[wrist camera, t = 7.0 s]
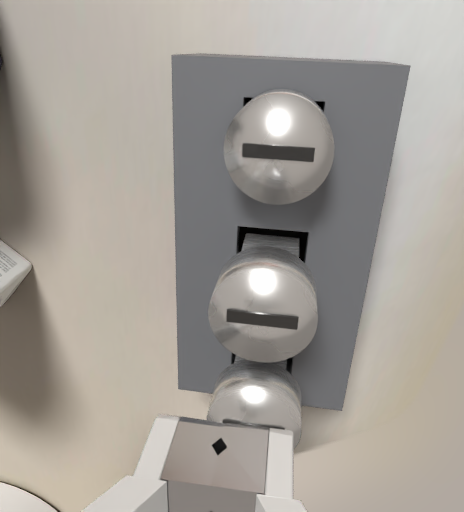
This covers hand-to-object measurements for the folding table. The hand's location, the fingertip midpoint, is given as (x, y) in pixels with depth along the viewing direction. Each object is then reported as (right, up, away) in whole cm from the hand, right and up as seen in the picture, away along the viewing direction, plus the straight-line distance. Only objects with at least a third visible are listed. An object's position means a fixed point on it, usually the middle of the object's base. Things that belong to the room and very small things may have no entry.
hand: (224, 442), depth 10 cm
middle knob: (+2, +4, +11) cm, 12 cm away
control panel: (+3, +6, +15) cm, 16 cm away
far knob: (+2, -1, +13) cm, 13 cm away
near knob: (+3, +10, +11) cm, 15 cm away
